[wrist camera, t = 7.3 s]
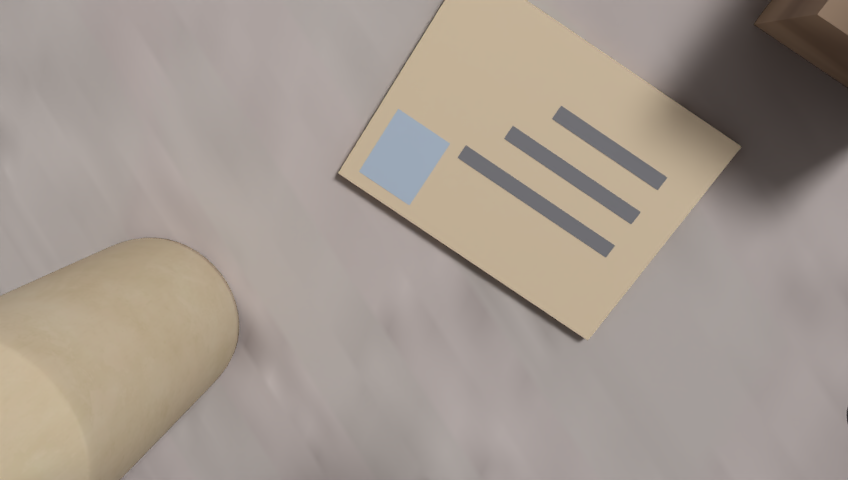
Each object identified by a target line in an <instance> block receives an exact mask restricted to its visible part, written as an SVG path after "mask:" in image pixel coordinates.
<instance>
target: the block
mask: <svg viewBox="0 0 848 480" xmlns="http://www.w3.org/2000/svg"><path fill="white" fill-rule="evenodd" d="M754 25H755V26H757V27H758V28H760V29H761V30H763V31H764V32H766V33H767V34H769V35H770V36H772V37H773V38H775V39H776V40H778V41H779V42H780V43H782V44H783V45H785V46H786V47H788V48H789V49H791V50H792V51H794V52H795V53H797V54H798V55H800V56H801V57H803V58H804V59H806V60H807V61H809V62H810V63H812V64H813V65H815V66H816V67H817V68H819V69H820V70H822V71H823V72H825V73H826V74H828V75H829V76H831V77H832V78H834V79H835V80H837V81H838V82H840V83H841V84H843V85H844V86H846V87H847V88H848V0H771V2H770V3H769V4H768V6H767V7H766V8H765V10H764V11H763V12H762V14H761V15H760V16H759V18H758V19H757V20H756V22H755V23H754Z"/></svg>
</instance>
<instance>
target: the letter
mask: <svg viewBox="0 0 848 480" xmlns="http://www.w3.org/2000/svg"><path fill="white" fill-rule="evenodd" d="M741 147H742V146H740V145H739V144H737V143H736V142H734V141H733V140H731V139H730V138H728V137H727V136H725V135H724V134H722V133H721V132H719V131H718V130H717V129H715V128H714V127H712V126H711V125H709V124H708V123H706V122H705V121H703V120H702V119H700V118H699V117H697V116H696V115H694V114H693V113H691V112H690V111H689V110H687V109H686V108H684V107H683V106H681V105H680V104H678V103H677V102H675V101H674V100H672V99H671V98H669V97H668V96H666V95H665V94H664V93H662V92H661V91H659V90H658V89H656V88H655V87H653V86H652V85H650V84H649V83H647V82H646V81H644V80H643V79H641V78H640V77H639V76H637V75H636V74H634V73H633V72H631V71H630V70H628V69H627V68H625V67H624V66H622V65H621V64H619V63H618V62H616V61H615V60H614V59H612V58H611V57H609V56H608V55H606V54H605V53H603V52H602V51H600V50H599V49H597V48H596V47H594V46H593V45H591V44H590V43H588V42H587V41H586V40H584V39H583V38H581V37H580V36H578V35H577V34H575V33H574V32H572V31H571V30H569V29H568V28H566V27H565V26H563V25H562V24H561V23H559V22H558V21H556V20H555V19H553V18H552V17H550V16H549V15H547V14H546V13H544V12H543V11H541V10H540V9H538V8H537V7H536V6H534V5H533V4H531V3H530V2H528V1H527V0H445V1H444V2H443V4H442V6H441V7H440V9H439V10H438V12H437V14H436V15H435V17H434V19H433V20H432V22H431V23H430V25H429V27H428V28H427V30H426V32H425V33H424V35H423V36H422V38H421V40H420V41H419V43H418V45H417V46H416V48H415V49H414V51H413V53H412V54H411V56H410V57H409V59H408V61H407V62H406V64H405V66H404V67H403V69H402V70H401V72H400V74H399V75H398V77H397V79H396V80H395V82H394V83H393V85H392V87H391V88H390V90H389V91H388V93H387V95H386V96H385V98H384V100H383V101H382V103H381V104H380V106H379V108H378V109H377V111H376V113H375V114H374V116H373V117H372V119H371V121H370V122H369V124H368V125H367V127H366V129H365V130H364V132H363V134H362V135H361V137H360V138H359V140H358V142H357V143H356V145H355V147H354V148H353V150H352V151H351V153H350V155H349V156H348V158H347V159H346V161H345V163H344V164H343V166H342V168H341V169H340V171H339V172H338V174H340V175H341V176H343V177H344V178H346V179H347V180H349V181H350V182H352V183H353V184H355V185H356V186H358V187H359V188H361V189H362V190H364V191H365V192H367V193H368V194H370V195H371V196H373V197H374V198H376V199H377V200H379V201H380V202H382V203H383V204H385V205H386V206H388V207H389V208H391V209H392V210H394V211H395V212H397V213H398V214H400V215H401V216H403V217H404V218H406V219H407V220H409V221H410V222H412V223H413V224H415V225H416V226H418V227H419V228H421V229H422V230H424V231H425V232H427V233H428V234H430V235H431V236H433V237H434V238H436V239H437V240H439V241H440V242H441V243H443V244H444V245H446V246H447V247H449V248H450V249H452V250H453V251H455V252H456V253H458V254H459V255H461V256H462V257H464V258H465V259H467V260H468V261H470V262H471V263H473V264H474V265H476V266H477V267H479V268H480V269H482V270H483V271H485V272H486V273H488V274H489V275H491V276H492V277H494V278H495V279H497V280H498V281H500V282H501V283H503V284H504V285H506V286H507V287H509V288H510V289H512V290H513V291H515V292H516V293H518V294H519V295H521V296H522V297H524V298H525V299H527V300H528V301H530V302H531V303H533V304H534V305H536V306H537V307H539V308H540V309H542V310H543V311H545V312H546V313H548V314H549V315H550V316H552V317H553V318H555V319H556V320H558V321H559V322H561V323H562V324H564V325H565V326H567V327H568V328H570V329H571V330H573V331H574V332H576V333H577V334H579V335H580V336H582V337H583V338H585V339H586V340H589V339H590V337H591V336H592V335H593V333H594V332H595V331H596V330H597V328H598V327H599V326H600V325H601V323H602V322H603V321H604V320H605V318H606V317H607V316H608V315H609V313H610V312H611V311H612V310H613V308H614V307H615V306H616V304H617V303H618V302H619V301H620V299H621V298H622V297H623V296H624V294H625V293H626V292H627V291H628V289H629V288H630V287H631V286H632V284H633V283H634V282H635V281H636V279H637V278H638V277H639V275H640V274H641V273H642V272H643V270H644V269H645V268H646V267H647V265H648V264H649V263H650V262H651V260H652V259H653V258H654V257H655V255H656V254H657V253H658V252H659V250H660V249H661V248H662V246H663V245H664V244H665V243H666V241H667V240H668V239H669V238H670V236H671V235H672V234H673V233H674V231H675V230H676V229H677V228H678V226H679V225H680V224H681V223H682V221H683V220H684V219H685V217H686V216H687V215H688V214H689V212H690V211H691V210H692V209H693V207H694V206H695V205H696V204H697V202H698V201H699V200H700V199H701V197H702V196H703V195H704V194H705V192H706V191H707V190H708V188H709V187H710V186H711V185H712V183H713V182H714V181H715V180H716V178H717V177H718V176H719V175H720V173H721V172H722V171H723V170H724V168H725V167H726V166H727V164H728V163H729V162H730V161H731V159H732V158H733V157H734V156H735V154H736V153H737V152H738V151H739V149H740V148H741Z"/></svg>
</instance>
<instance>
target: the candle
mask: <svg viewBox="0 0 848 480" xmlns="http://www.w3.org/2000/svg"><path fill="white" fill-rule="evenodd" d="M238 335H239V316H238V310H237V306H236V302H235V299H234V297H233V294H232V292H231V290H230V288H229V286H228V284H227V282H226V281H225V279H224V278H223V276H222V275H221V273H220V272H219V271H218V270H217V269H216V268H215V266H214V265H213V264H212V263H211V262H209V261H208V260H207V259H206V258H205V257H204V256H202V255H201V254H199V253H198V252H197V251H195V250H193V249H191V248H190V247H188V246H186V245H183V244H181V243H178V242H175V241H171V240H168V239H161V238H141V239H134V240H128V241H125V242H122V243H119V244H116V245H114V246H111V247H109V248H106V249H104V250H102V251H100V252H97V253H95V254H93V255H91V256H88V257H86V258H84V259H82V260H79V261H77V262H75V263H73V264H71V265H68V266H66V267H64V268H62V269H59V270H57V271H55V272H53V273H50V274H48V275H46V276H44V277H41V278H39V279H37V280H35V281H33V282H30V283H28V284H26V285H24V286H21V287H19V288H17V289H15V290H12V291H10V292H8V293H6V294H3V295H1V296H0V480H120V479H121V478H122V477H123V476H124V475H125V474H126V473H127V472H128V471H129V470H130V469H131V468H132V467H133V466H134V465H135V464H136V463H137V462H138V461H139V460H140V459H141V458H142V456H143V455H144V454H145V453H146V452H147V451H148V450H149V449H150V448H151V447H152V446H153V445H154V444H155V443H156V442H157V441H158V440H159V439H160V438H161V437H162V436H163V435H164V434H165V433H166V432H167V431H168V430H169V429H170V428H171V427H172V426H173V425H174V424H175V422H176V421H177V420H178V419H179V418H180V417H181V416H182V415H183V414H184V413H185V412H186V411H187V410H188V409H189V408H190V407H191V406H192V405H193V404H194V403H195V402H196V401H197V400H198V399H199V398H200V397H201V396H202V395H203V394H204V393H205V392H206V390H207V389H208V388H209V387H210V386H211V385H212V384H213V383H214V382H215V381H216V380H217V379H218V377H219V376H220V375H221V374H222V373H223V371H224V370H225V369H226V367H227V366H228V364H229V362H230V360H231V358H232V356H233V354H234V351H235V348H236V345H237V341H238Z"/></svg>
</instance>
